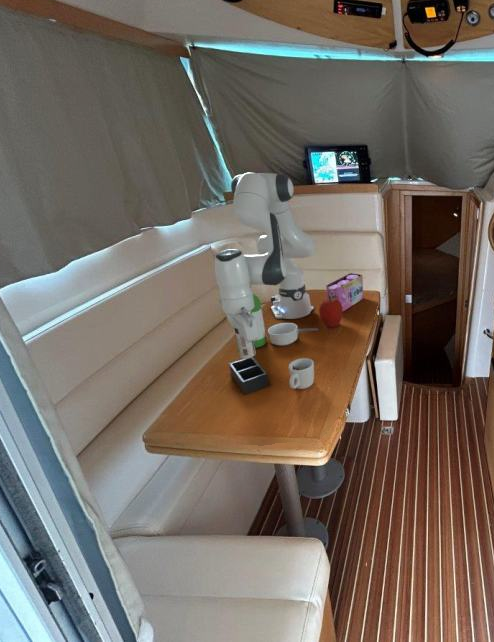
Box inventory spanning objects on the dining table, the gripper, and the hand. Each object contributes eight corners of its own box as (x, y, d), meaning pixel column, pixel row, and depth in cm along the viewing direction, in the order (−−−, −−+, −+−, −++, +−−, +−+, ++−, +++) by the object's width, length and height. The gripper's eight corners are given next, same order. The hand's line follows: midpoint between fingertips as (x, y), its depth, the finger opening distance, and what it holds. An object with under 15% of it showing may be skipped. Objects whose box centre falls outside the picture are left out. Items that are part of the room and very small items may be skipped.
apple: (337, 318, 171) (335, 291, 166) (348, 325, 164) (346, 297, 159) (316, 324, 164) (313, 296, 159) (327, 332, 157) (324, 303, 152)
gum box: (339, 314, 176) (337, 288, 171) (325, 312, 178) (323, 286, 173) (364, 298, 196) (362, 274, 192) (351, 296, 199) (350, 272, 194)
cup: (304, 398, 114) (301, 377, 111) (281, 395, 116) (278, 373, 113) (320, 379, 124) (318, 359, 121) (299, 376, 126) (296, 356, 123)
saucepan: (315, 347, 145) (314, 334, 143) (265, 347, 144) (263, 335, 142) (322, 334, 156) (321, 322, 154) (275, 334, 155) (273, 322, 153)
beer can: (259, 354, 118) (253, 321, 113) (246, 361, 114) (239, 326, 109) (250, 350, 120) (244, 317, 116) (236, 356, 116) (230, 323, 112)
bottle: (263, 348, 143) (251, 277, 133) (243, 349, 143) (229, 277, 132) (269, 339, 151) (258, 271, 140) (250, 340, 150) (237, 271, 139)
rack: (231, 375, 126) (228, 363, 124) (254, 367, 131) (252, 356, 129) (245, 394, 116) (242, 382, 114) (269, 385, 121) (267, 373, 119)
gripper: (260, 310, 105) (267, 352, 110) (238, 292, 119) (245, 329, 124) (237, 316, 101) (245, 359, 106) (217, 296, 115) (225, 335, 120)
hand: (245, 343), depth 115 cm, fingers closed on beer can, 5 cm apart
